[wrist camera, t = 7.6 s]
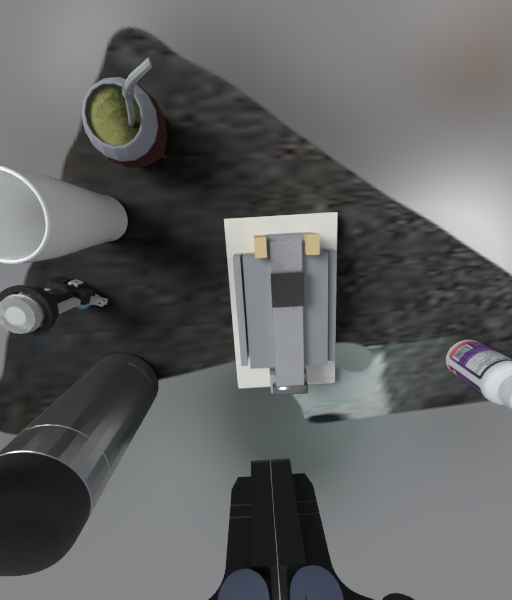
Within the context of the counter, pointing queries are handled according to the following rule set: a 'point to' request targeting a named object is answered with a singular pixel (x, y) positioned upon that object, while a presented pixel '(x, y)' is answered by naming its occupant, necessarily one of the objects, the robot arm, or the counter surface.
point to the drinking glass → (52, 217)
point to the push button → (42, 305)
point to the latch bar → (288, 316)
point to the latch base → (245, 245)
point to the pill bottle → (482, 370)
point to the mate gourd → (125, 120)
